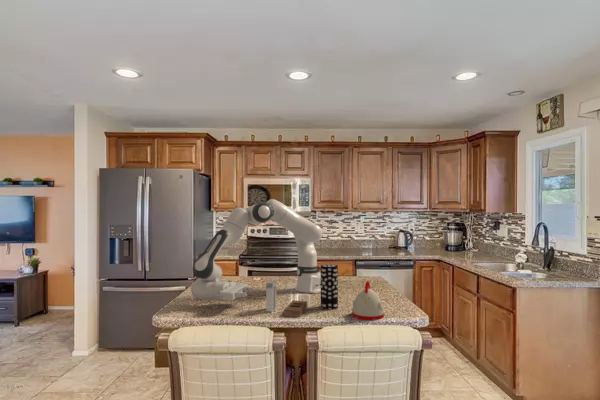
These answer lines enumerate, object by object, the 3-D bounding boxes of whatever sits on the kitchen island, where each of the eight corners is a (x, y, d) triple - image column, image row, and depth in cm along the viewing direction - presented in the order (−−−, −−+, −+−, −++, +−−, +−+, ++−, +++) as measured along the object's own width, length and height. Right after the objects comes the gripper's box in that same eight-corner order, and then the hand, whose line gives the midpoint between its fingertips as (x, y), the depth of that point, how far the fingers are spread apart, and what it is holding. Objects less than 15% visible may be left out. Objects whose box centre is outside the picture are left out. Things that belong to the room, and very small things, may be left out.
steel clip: (270, 308, 173) (270, 280, 173) (276, 308, 172) (276, 281, 173) (266, 311, 167) (266, 283, 167) (272, 312, 166) (272, 283, 166)
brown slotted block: (293, 306, 176) (292, 300, 176) (307, 307, 174) (307, 301, 174) (284, 316, 160) (284, 309, 160) (299, 317, 158) (299, 310, 158)
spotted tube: (320, 304, 178) (320, 264, 179) (337, 304, 178) (337, 264, 179) (321, 309, 170) (320, 266, 171) (338, 309, 170) (338, 267, 170)
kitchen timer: (349, 318, 157) (348, 283, 157) (355, 309, 170) (355, 277, 170) (381, 321, 152) (381, 286, 152) (385, 312, 165) (385, 279, 165)
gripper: (213, 289, 165) (241, 290, 162) (231, 280, 185) (257, 281, 182) (213, 303, 165) (241, 304, 162) (231, 292, 185) (257, 293, 182)
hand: (250, 292), depth 172 cm, fingers open, 8 cm apart
